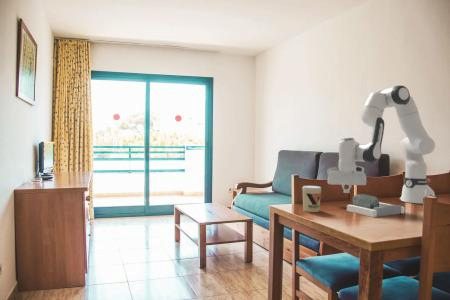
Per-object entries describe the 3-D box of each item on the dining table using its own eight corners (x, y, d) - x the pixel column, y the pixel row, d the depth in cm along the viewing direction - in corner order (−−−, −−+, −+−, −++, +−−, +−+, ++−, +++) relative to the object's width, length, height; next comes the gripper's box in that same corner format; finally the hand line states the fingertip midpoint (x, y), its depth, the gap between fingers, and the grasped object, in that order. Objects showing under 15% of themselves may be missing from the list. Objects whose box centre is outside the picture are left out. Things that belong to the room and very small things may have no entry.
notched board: (377, 207, 200) (377, 199, 199) (404, 213, 186) (404, 205, 185) (346, 210, 188) (346, 202, 188) (372, 217, 174) (373, 208, 174)
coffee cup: (306, 212, 182) (307, 188, 181) (298, 208, 191) (299, 185, 190) (324, 212, 184) (324, 188, 183) (315, 208, 193) (316, 185, 192)
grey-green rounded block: (386, 205, 188) (377, 188, 187) (377, 215, 183) (367, 198, 182) (363, 207, 199) (355, 191, 198) (354, 217, 194) (345, 200, 193)
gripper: (327, 167, 203) (327, 193, 203) (367, 168, 198) (366, 194, 199) (326, 166, 209) (326, 191, 209) (365, 167, 204) (365, 192, 205)
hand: (346, 192), depth 204 cm, fingers closed
